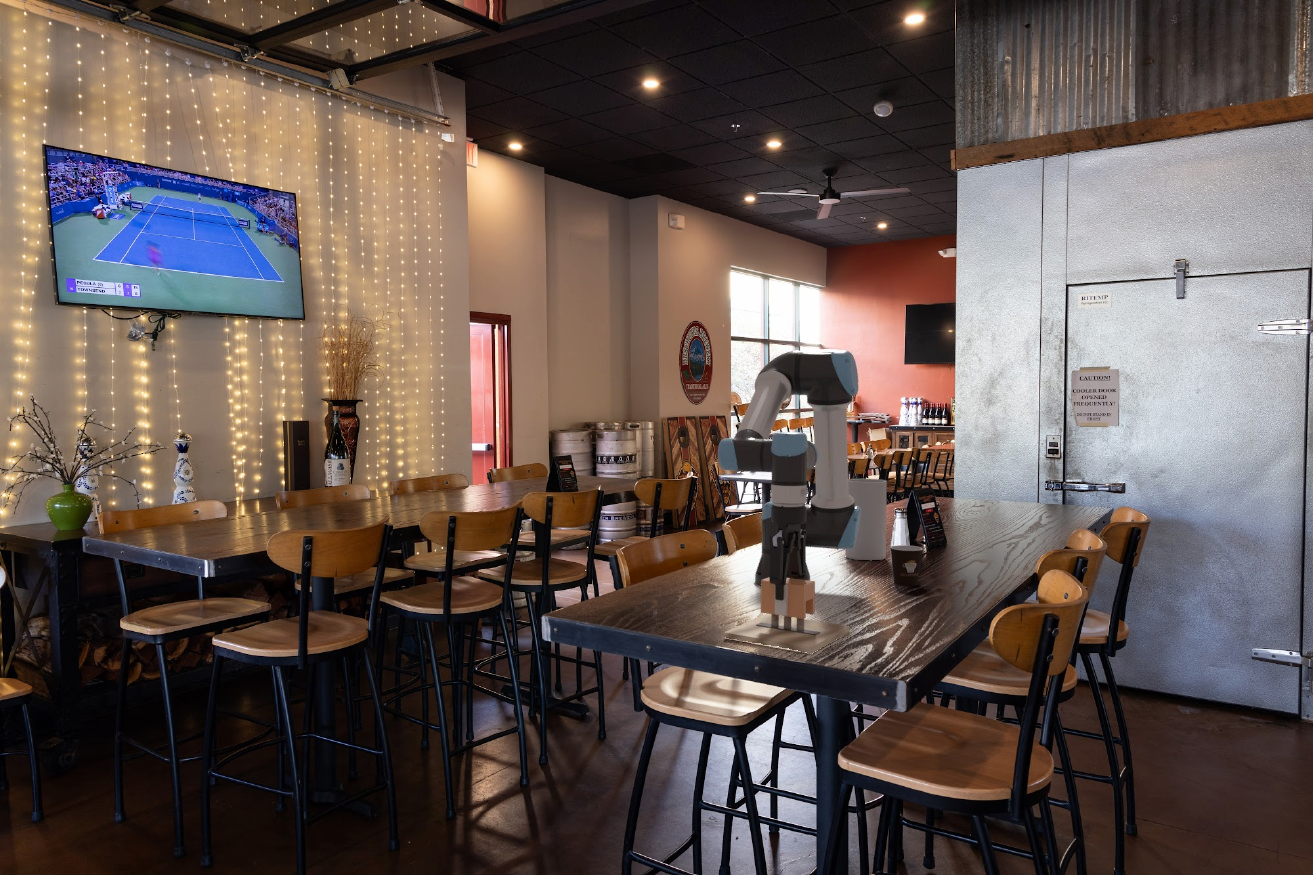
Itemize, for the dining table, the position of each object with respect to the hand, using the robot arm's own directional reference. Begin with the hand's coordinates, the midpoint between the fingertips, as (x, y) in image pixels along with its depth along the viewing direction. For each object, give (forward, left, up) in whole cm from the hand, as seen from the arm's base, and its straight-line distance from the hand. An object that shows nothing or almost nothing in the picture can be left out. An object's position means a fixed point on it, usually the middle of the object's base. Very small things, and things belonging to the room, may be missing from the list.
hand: (787, 611), depth 189 cm
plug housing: (0, 0, 0) cm, 0 cm away
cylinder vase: (-20, +99, -6) cm, 101 cm away
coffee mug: (+5, +68, -6) cm, 68 cm away
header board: (0, 0, -5) cm, 5 cm away
